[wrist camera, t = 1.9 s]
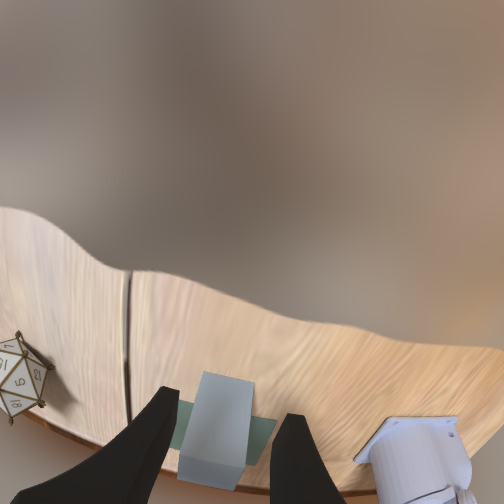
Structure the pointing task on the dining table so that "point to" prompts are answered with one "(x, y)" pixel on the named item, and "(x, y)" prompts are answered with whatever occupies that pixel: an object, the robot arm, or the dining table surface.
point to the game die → (20, 378)
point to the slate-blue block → (217, 433)
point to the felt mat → (256, 439)
